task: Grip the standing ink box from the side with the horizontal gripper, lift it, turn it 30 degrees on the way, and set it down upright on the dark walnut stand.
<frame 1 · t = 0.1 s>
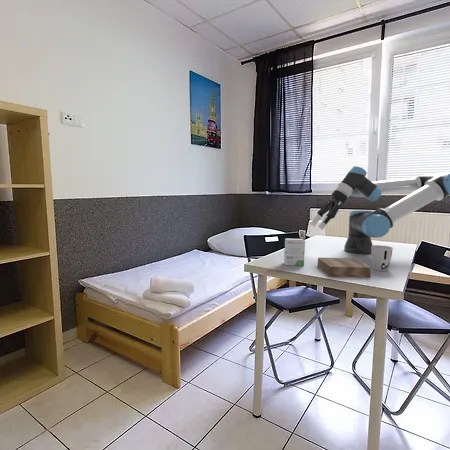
hand: (315, 226, 154), 15 cm above the table, tool tilted 35°, fingers open, 13 cm apart
ink box: (293, 264, 136), on the table
cup: (380, 270, 129), on the table
walnut stand: (342, 271, 125), on the table
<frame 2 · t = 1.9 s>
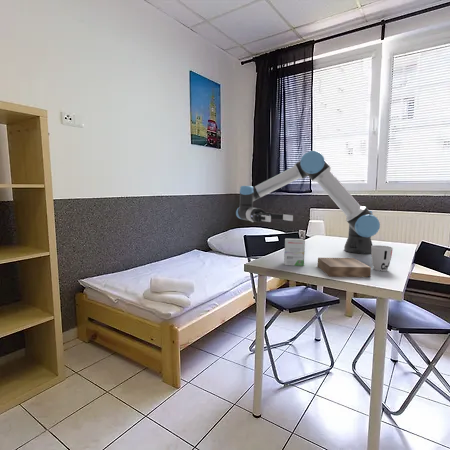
hand: (281, 218, 142), 20 cm above the table, tool horizontal, fingers open, 13 cm apart
nothing on the table moved.
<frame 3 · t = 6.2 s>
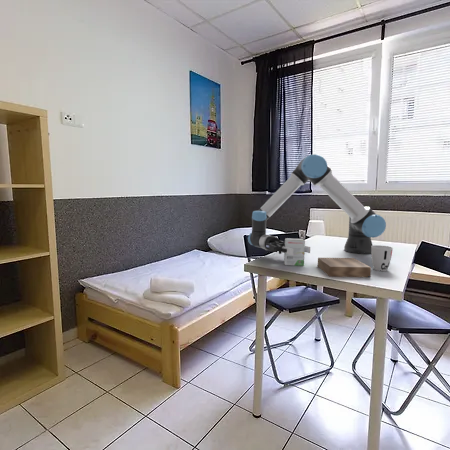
hand: (301, 251, 132), 7 cm above the table, tool horizontal, fingers closed on ink box, 9 cm apart
ink box: (293, 264, 136), on the table, touching gripper
everything else where it was.
when the fingers open (12 cm above the table, at t = 10.7 s): ink box drops 1 cm, resting on walnut stand.
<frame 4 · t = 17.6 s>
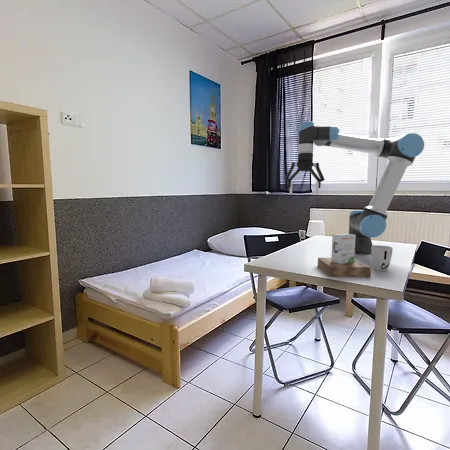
hand: (303, 194, 155), 32 cm above the table, tool pointing down, fingers open, 13 cm apart
ink box: (342, 262, 125), point 4 cm above the table, touching walnut stand
everything else where it was.
at the end: ink box inside the target area on the walnut stand (0.2 cm from its centre), point 3.8 cm above the walnut stand's base; ink box tilted 0°; the gripper is holding nothing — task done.
